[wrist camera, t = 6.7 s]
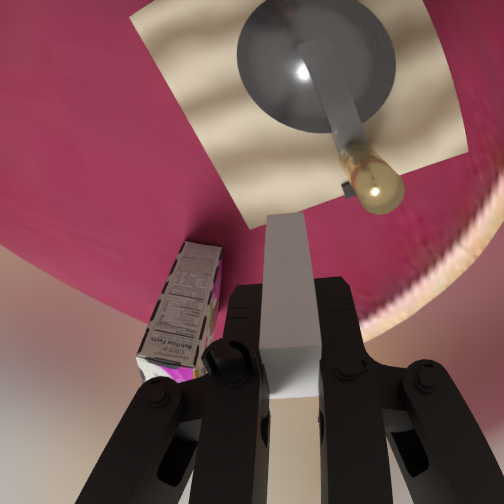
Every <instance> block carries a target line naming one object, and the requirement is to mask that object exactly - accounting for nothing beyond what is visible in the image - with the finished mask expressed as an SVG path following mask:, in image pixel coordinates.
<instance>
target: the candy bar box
mask: <svg viewBox="0 0 504 504" xmlns="http://www.w3.org/2000/svg"><path fill="white" fill-rule="evenodd" d="M222 258H223V247H220V246H215V245H206V244H200V243H194V242H188V241H184V242H183V244H182V247H181V249H180V251H179V253H178V255H177V258H176V260H175V262H174V264H173V266H172V269H171V271H170V274H169V276H168V278H167V280H166V283H165V285H164V288H163V290H162V292H161V295H160V297H159V299H158V302H157V304H156V306H155V309H154V311H153V314H152V316H151V319H150V322H149V324H148V327H147V329H146V332H145V335H144V337H143V339H142V342H141V345H140V347H139V350H138V352H137V354H136V360H137V363H138V366H139V370H140V373H141V377H142V381H143V383H144V382H146V381H147V380H149V379H150V378H153V377H157V376H166V377H170V378H172V379H173V380H175V381H176V382H177V383H179V382H184V381H187V380H191V379H195V378H198V377H201V376H203V375H205V374H206V373H207V370H206V368H205V366H204V364H203V362H202V360H201V356H202V354H203V352H204V350H205V349H206V348H207V347H208V346H209V345H210V344H211V343H212V342H213V336H214V331H215V326H216V321H217V316H218V309H219V296H220V285H221V272H222Z"/></svg>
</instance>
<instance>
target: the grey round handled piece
mask: <svg viewBox="0 0 504 504" xmlns="http://www.w3.org/2000/svg"><path fill="white" fill-rule="evenodd" d="M237 66H238V70H239V74H240V77H241V80H242V82H243V85H244V87H245V89H246V90H247V92H248V94H249V95H250V97H251V98H252V99H253V101H254V102H255V103H256V104H257V105H258V106H259V107H260V108H261V109H262V110H263V111H264V112H265V113H266V114H268V115H269V116H270V117H272V118H273V119H275V120H276V121H278V122H280V123H282V124H284V125H286V126H288V127H291V128H294V129H297V130H300V131H305V132H310V133H331V135H332V137H333V140H334V143H335V146H336V149H337V152H338V162H339V165H340V167H341V169H342V170H343V172H344V174H345V175H346V177H347V179H348V181H349V182H350V184H351V186H352V188H353V189H354V191H355V193H356V195H357V197H358V198H359V200H360V202H361V204H362V205H363V207H364V208H365V209H366V210H367V211H369V212H371V213H374V214H386V213H389V212H391V211H393V210H394V209H396V208H397V207H398V206H399V204H400V203H401V201H402V199H403V197H404V192H405V188H404V183H403V180H402V179H401V177H400V176H399V175H398V174H397V173H396V172H395V171H394V170H393V169H392V168H391V167H390V166H389V165H388V164H387V163H386V162H385V161H384V160H383V159H382V158H381V157H380V156H379V155H378V154H377V153H376V152H375V151H374V150H373V149H372V148H371V147H370V146H369V145H368V143H367V140H366V137H365V133H364V130H363V127H362V123H364V122H365V121H367V120H368V119H369V118H371V117H372V116H373V115H374V114H375V113H376V112H377V111H378V110H379V109H380V108H381V107H382V106H383V104H384V103H385V101H386V100H387V98H388V96H389V95H390V92H391V90H392V87H393V84H394V80H395V73H396V58H395V52H394V48H393V45H392V41H391V39H390V37H389V35H388V33H387V31H386V29H385V28H384V26H383V24H382V23H381V22H380V20H379V19H378V18H377V17H376V16H375V15H374V14H373V13H372V12H371V11H370V10H369V9H368V8H367V7H366V6H364V5H363V4H361V3H360V2H359V1H357V0H266V1H265V2H263V3H262V4H261V5H259V6H258V7H257V8H256V9H255V10H254V11H253V12H252V14H251V15H250V16H249V18H248V19H247V20H246V22H245V24H244V26H243V28H242V30H241V33H240V36H239V39H238V44H237Z"/></svg>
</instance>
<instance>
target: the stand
mask: <svg viewBox="0 0 504 504" xmlns="http://www.w3.org/2000/svg"><path fill="white" fill-rule="evenodd" d="M265 1H266V0H154V1H153V2H151V3H150V4H148V5H147V6H145V7H144V8H142V9H141V10H139V11H138V12H136V13H135V14H133V15H132V16H130V17H129V18H130V19H131V21H132V23H133V25H134V26H135V28H136V30H137V31H138V33H139V35H140V37H141V38H142V40H143V42H144V44H145V45H146V47H147V49H148V50H149V52H150V54H151V56H152V57H153V59H154V61H155V63H156V64H157V66H158V68H159V70H160V71H161V73H162V75H163V77H164V78H165V80H166V82H167V84H168V85H169V87H170V89H171V91H172V92H173V94H174V96H175V98H176V99H177V101H178V103H179V105H180V106H181V108H182V110H183V112H184V113H185V115H186V117H187V119H188V120H189V122H190V124H191V126H192V127H193V129H194V131H195V133H196V135H197V136H198V138H199V140H200V142H201V143H202V145H203V147H204V149H205V150H206V152H207V154H208V156H209V158H210V159H211V161H212V163H213V165H214V166H215V168H216V170H217V172H218V174H219V175H220V177H221V179H222V181H223V182H224V184H225V186H226V188H227V190H228V191H229V193H230V195H231V197H232V199H233V200H234V202H235V204H236V206H237V208H238V209H239V211H240V213H241V215H242V217H243V218H244V220H245V222H246V224H247V226H248V227H249V229H250V230H251V229H254V228H256V227H259V226H261V225H264V224H266V217H267V215H274V214H285V213H296V212H299V211H301V210H304V209H307V208H309V207H312V206H315V205H318V204H320V203H323V202H326V201H328V200H331V199H334V198H337V197H339V196H342V195H345V197H346V199H347V198H350V197H352V196H355V195H356V193H355V191H354V189H353V188H352V186H351V184H350V182H349V181H348V179H347V177H346V175H345V174H344V172H343V170H342V169H341V167H340V165H339V162H338V152H337V149H336V146H335V143H334V140H333V137H332V135H331V133H310V132H305V131H300V130H297V129H294V128H291V127H288V126H286V125H284V124H282V123H280V122H278V121H276V120H275V119H273V118H272V117H270V116H269V115H268V114H266V113H265V112H264V111H263V110H262V109H261V108H260V107H259V106H258V105H257V104H256V103H255V102H254V101H253V99H252V98H251V97H250V95H249V94H248V92H247V90H246V89H245V87H244V85H243V82H242V80H241V77H240V74H239V70H238V66H237V44H238V39H239V36H240V33H241V30H242V28H243V26H244V24H245V22H246V20H247V19H248V18H249V16H250V15H251V14H252V12H253V11H254V10H255V9H256V8H257V7H258V6H259V5H261V4H262V3H263V2H265ZM357 1H359V2H360V3H361V4H363V5H364V6H366V7H367V8H368V9H369V10H370V11H371V12H372V13H373V14H374V15H375V16H376V17H377V18H378V19H379V20H380V22H381V23H382V24H383V26H384V28H385V29H386V31H387V33H388V35H389V37H390V39H391V41H392V45H393V48H394V52H395V58H396V73H395V80H394V84H393V87H392V90H391V92H390V95H389V96H388V98H387V100H386V101H385V103H384V104H383V106H382V107H381V108H380V109H379V110H378V111H377V112H376V113H375V114H374V115H373V116H372V117H371V118H369V119H368V120H367V121H365V122H364V123H362V127H363V130H364V133H365V137H366V140H367V143H368V145H369V146H370V147H371V148H372V149H373V150H374V151H375V152H376V153H377V154H378V155H379V156H380V157H381V158H382V159H383V160H384V161H385V162H386V163H387V164H388V165H389V166H390V167H391V168H392V169H393V170H394V171H395V172H396V173H397V174H398V175H401V174H404V173H407V172H410V171H413V170H416V169H419V168H422V167H424V166H427V165H430V164H433V163H436V162H439V161H442V160H445V159H448V158H451V157H454V156H457V155H460V154H463V153H466V152H468V146H467V140H466V134H465V129H464V124H463V119H462V115H461V110H460V106H459V102H458V98H457V94H456V90H455V87H454V83H453V80H452V76H451V73H450V70H449V66H448V63H447V60H446V57H445V54H444V52H443V49H442V46H441V43H440V41H439V38H438V35H437V33H436V30H435V28H434V25H433V23H432V21H431V18H430V16H429V14H428V11H427V9H426V7H425V5H424V3H423V1H422V0H357Z"/></svg>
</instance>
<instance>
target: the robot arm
mask: <svg viewBox="0 0 504 504" xmlns="http://www.w3.org/2000/svg"><path fill="white" fill-rule="evenodd" d="M201 360H202V362H203V364H204V366H205V368H206V370H207V372H208V373H207V374H205V375H203V376H201V377H198V378H195V379H191V380H187V381H184V382H179V383H177V382H176V381H175V380H173V379H172V378H170V377H166V376H157V377H153V378H150V379H149V380H147V381H146V382H144V383H143V384H142V386H141V387H140V388H139V389H138V391H137V392H136V394H135V396H134V398H133V399H132V401H131V403H130V405H129V406H128V408H127V410H126V411H125V413H124V415H123V417H122V419H121V420H120V422H119V424H118V426H117V427H116V429H115V431H114V433H113V435H112V436H111V438H110V440H109V442H108V443H107V445H106V447H105V449H104V451H103V452H102V454H101V456H100V458H99V460H98V461H97V463H96V465H95V467H94V469H93V470H92V473H91V474H90V476H89V478H88V480H87V482H86V484H85V485H84V487H83V489H82V491H81V493H80V495H79V497H78V499H77V500H76V502H75V504H178V502H179V500H180V498H181V496H182V494H183V491H184V489H185V487H186V485H187V482H188V480H189V478H190V476H191V473H192V471H193V469H194V471H193V478H192V484H191V491H190V497H189V504H266V503H267V484H268V483H267V482H268V465H269V463H268V462H269V442H270V417H271V415H270V410H269V395H270V398H272V399H275V398H295V397H310V396H319V416H318V422H319V428H320V456H321V504H393V496H392V486H391V476H390V466H389V457H388V449H387V442H386V437H387V439H388V442H389V444H390V446H391V449H392V451H393V453H394V456H395V458H396V460H397V463H398V465H399V468H400V470H401V473H402V475H403V477H404V480H405V482H406V485H407V487H408V490H409V492H410V495H411V497H412V500H413V502H414V504H504V476H503V474H502V471H501V469H500V467H499V465H498V463H497V461H496V459H495V456H494V454H493V453H492V450H491V448H490V446H489V445H488V443H487V440H486V439H485V437H484V435H483V433H482V431H481V429H480V427H479V425H478V423H477V422H476V420H475V418H474V416H473V414H472V413H471V411H470V409H469V407H468V405H467V404H466V402H465V400H464V399H463V397H462V395H461V393H460V392H459V390H458V388H457V387H456V385H455V384H454V382H453V380H452V379H451V377H450V375H449V374H448V372H447V370H445V368H444V367H443V366H442V365H441V364H439V363H437V362H435V361H433V360H427V359H423V360H418V361H415V362H414V363H412V364H411V365H409V366H408V368H399V367H392V366H387V365H383V364H380V363H378V362H376V361H375V360H373V359H372V358H371V357H370V356H369V355H368V353H367V352H366V350H365V347H364V344H363V339H362V335H361V330H360V326H359V322H358V318H357V313H356V310H355V305H354V301H353V297H352V293H351V289H350V286H349V285H348V284H347V283H346V281H345V280H344V279H343V278H342V277H341V276H339V277H328V278H316V279H314V278H313V271H312V264H311V258H310V251H309V244H308V238H307V232H306V226H305V220H304V214H303V212H296V213H285V214H274V215H267V217H266V236H265V255H264V273H263V284H249V285H237V287H236V288H235V289H234V291H233V292H232V294H231V295H230V297H229V303H228V310H227V315H226V321H225V327H224V333H223V338H220V339H218V340H216V341H214V342H212V343H211V344H210V345H209V346H208V347H207V348H206V349H205V350H204V352H203V354H202V356H201Z"/></svg>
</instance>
